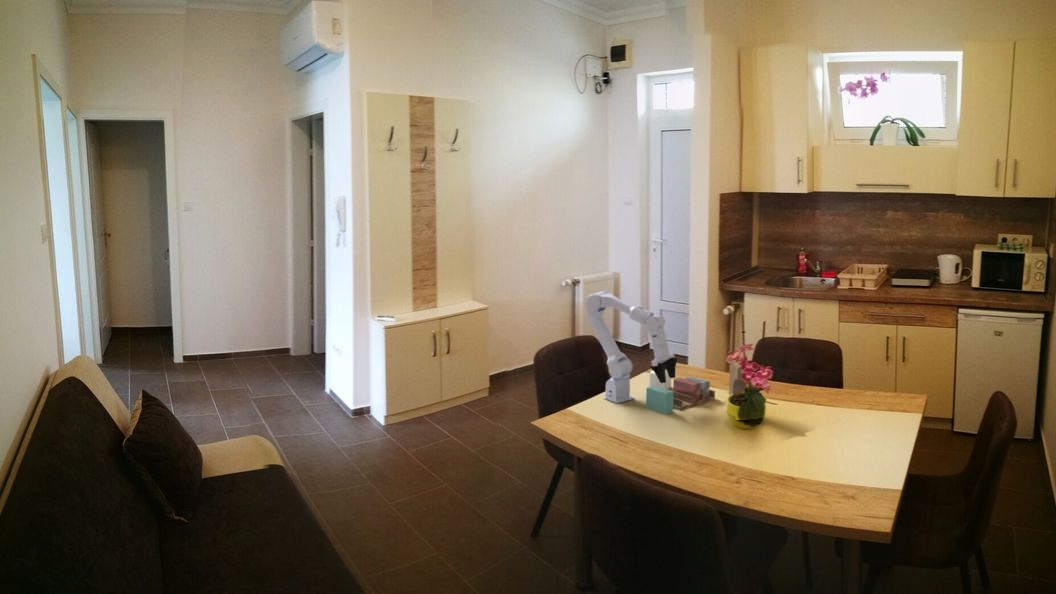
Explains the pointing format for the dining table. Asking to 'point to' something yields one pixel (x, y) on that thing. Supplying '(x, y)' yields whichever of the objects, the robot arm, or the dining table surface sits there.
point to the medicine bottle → (655, 381)
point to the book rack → (691, 392)
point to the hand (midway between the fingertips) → (667, 380)
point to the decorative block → (736, 379)
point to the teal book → (659, 400)
